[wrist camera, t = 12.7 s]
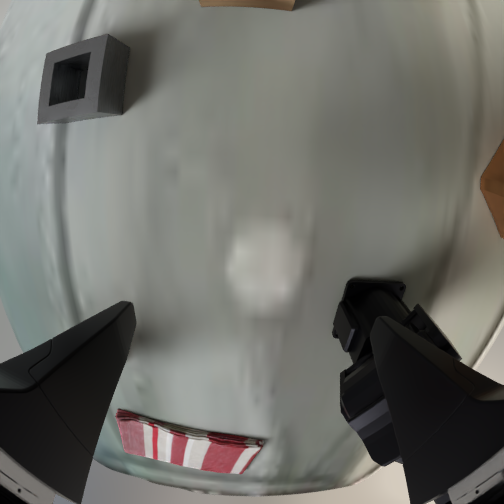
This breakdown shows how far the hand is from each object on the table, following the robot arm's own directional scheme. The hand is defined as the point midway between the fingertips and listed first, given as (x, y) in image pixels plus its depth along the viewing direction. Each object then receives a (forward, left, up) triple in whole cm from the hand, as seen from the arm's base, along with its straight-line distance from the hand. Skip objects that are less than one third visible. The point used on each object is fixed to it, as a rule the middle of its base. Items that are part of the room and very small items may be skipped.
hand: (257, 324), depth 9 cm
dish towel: (+8, +40, -14) cm, 43 cm away
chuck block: (+14, -11, -13) cm, 22 cm away
